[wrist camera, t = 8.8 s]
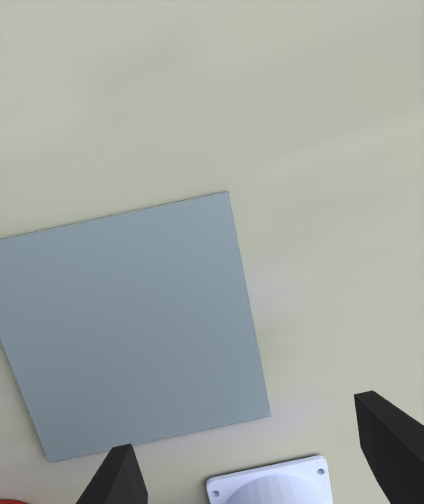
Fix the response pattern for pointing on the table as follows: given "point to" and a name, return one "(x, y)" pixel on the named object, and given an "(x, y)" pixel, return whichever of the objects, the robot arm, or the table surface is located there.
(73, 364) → the plate
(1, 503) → the canned food
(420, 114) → the table surface
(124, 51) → the table surface
